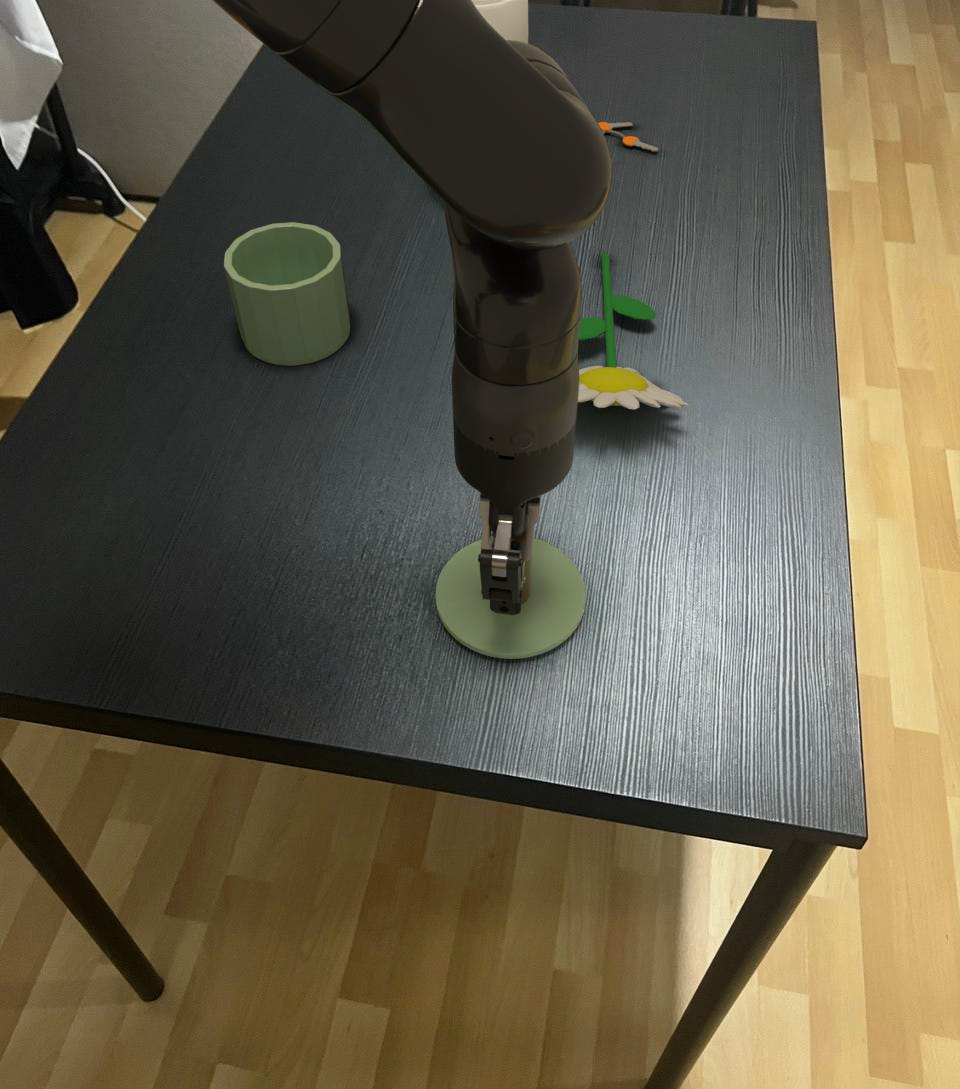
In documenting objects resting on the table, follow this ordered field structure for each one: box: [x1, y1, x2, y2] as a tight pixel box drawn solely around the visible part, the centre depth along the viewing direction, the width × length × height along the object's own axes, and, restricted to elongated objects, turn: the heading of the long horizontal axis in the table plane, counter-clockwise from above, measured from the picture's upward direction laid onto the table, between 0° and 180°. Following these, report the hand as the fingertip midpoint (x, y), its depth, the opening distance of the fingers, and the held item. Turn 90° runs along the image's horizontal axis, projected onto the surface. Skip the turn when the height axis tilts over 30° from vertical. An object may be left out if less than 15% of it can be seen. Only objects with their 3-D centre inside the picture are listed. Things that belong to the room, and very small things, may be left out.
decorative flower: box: [578, 253, 690, 411], centre depth 92 cm, size 13×5×30 cm
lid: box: [435, 531, 587, 660], centre depth 72 cm, size 11×11×7 cm
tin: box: [223, 221, 352, 367], centre depth 93 cm, size 10×10×8 cm
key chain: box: [598, 121, 660, 153], centre depth 118 cm, size 13×7×1 cm, turn 88°
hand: (510, 578), depth 73 cm, fingers open, 5 cm apart
